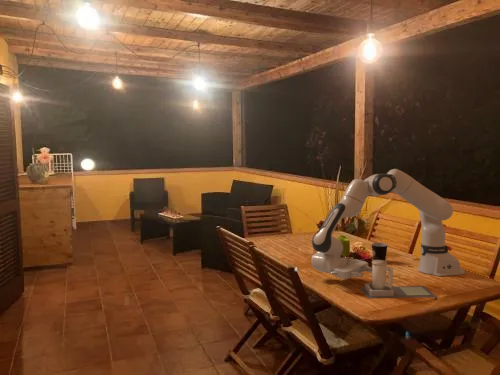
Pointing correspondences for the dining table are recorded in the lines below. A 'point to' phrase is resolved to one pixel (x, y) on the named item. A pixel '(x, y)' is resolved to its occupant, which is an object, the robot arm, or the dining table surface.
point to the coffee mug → (379, 251)
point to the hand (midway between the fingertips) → (367, 272)
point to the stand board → (397, 292)
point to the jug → (381, 275)
